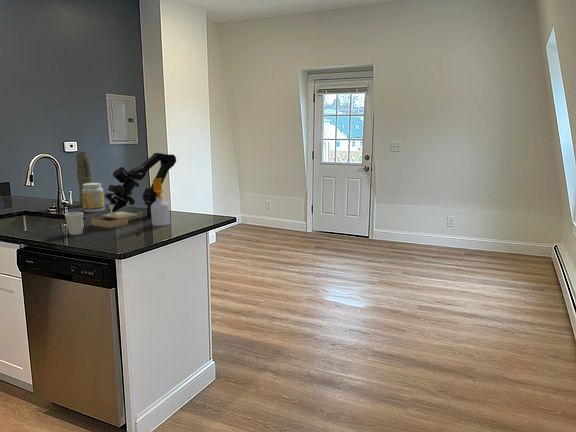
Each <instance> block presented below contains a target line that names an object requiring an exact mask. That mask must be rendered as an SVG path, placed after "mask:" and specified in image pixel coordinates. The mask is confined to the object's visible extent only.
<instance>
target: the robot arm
mask: <svg viewBox="0 0 576 432" xmlns="http://www.w3.org/2000/svg"><path fill="white" fill-rule="evenodd" d="M176 157H177V156H175V154H167V153H162V152H154V153H152V155H151V156H150V157H148V158H147V159H146V160H145V161H144V162H143V163H142V164H140V165H138V166H136V167H133V168H132V169H130V170H129V171H127V170H126V169H125V168H124V167H123V166H120V167H118V168H117V169H116V170H114V171H113V172H112V177H113V178H115V179H116V180H117V181H118V182H119V183H120V184H117V185H115V184H109V185H108V188H107V189H108V190H107V191H108V192H106V193H105V194H104V198H105V199H107V200H108V201H109V203H110V204H109V208H108V213H110V205H111V204H115V206H114V208H113V210H112V212H115V211H116V212H117V211H119V210H121V209H122V208H124V207H126V206H128V205H129V206H134V205H135V203H136V201H135V199H134V198H133V197H132V196H131V195H132V194H133V192H132V191H133V190H134V188H139V187H140V185H139V181H141V180H143V179H144V178H145V177H146V175H147V173H148V171H150V170H151V168H153V167H154V166H156V164H157V163H159V162H160V167H159V169H158V171H157V173H156V176H155V177H154V179H155V178H162V180H161V186H162V185H163V182H164V180H165V179H166V177H167V175H168V172H169V170H170V169H172V168H173V167H174V165H175V164H176V162H177V158H176ZM121 184H122V185H121ZM110 192H111V193H110ZM156 196H157V194H156V192H154V187H153V183H152V184H151V186H150V187H149V188H145V189H144V192H143V193H142V200H143V201H144V204H145V206H147V207H146V214H147V215H146V216H147V217H151V205H152V204H153V203H154V202H155V201H156Z"/></svg>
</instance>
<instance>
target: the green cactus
mask: <svg viewBox="0 0 576 432" xmlns="http://www.w3.org/2000/svg"><path fill="white" fill-rule="evenodd" d="M75 157H76V158H75V159H76V165H77V167H76V168H77V169H76V178H77V181H78V189H79V195H78V197H79V204H80V207H83V198H82V189H83V184H86V183H93V182H92V180H93V173H92V170H91V166H90V165H91V164H90V156H89V154H88V153H87V152H85V151H83V152H78V153H76V156H75Z"/></svg>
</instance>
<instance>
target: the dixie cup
mask: <svg viewBox="0 0 576 432" xmlns="http://www.w3.org/2000/svg"><path fill="white" fill-rule="evenodd" d="M64 217H65V221H66V225H67V229H68V232H69V235H71V236H77V235H82V234H83V228H84V226H83V225H84V212H83V211H71V212H70V211H69V212H66V213H64Z"/></svg>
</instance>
